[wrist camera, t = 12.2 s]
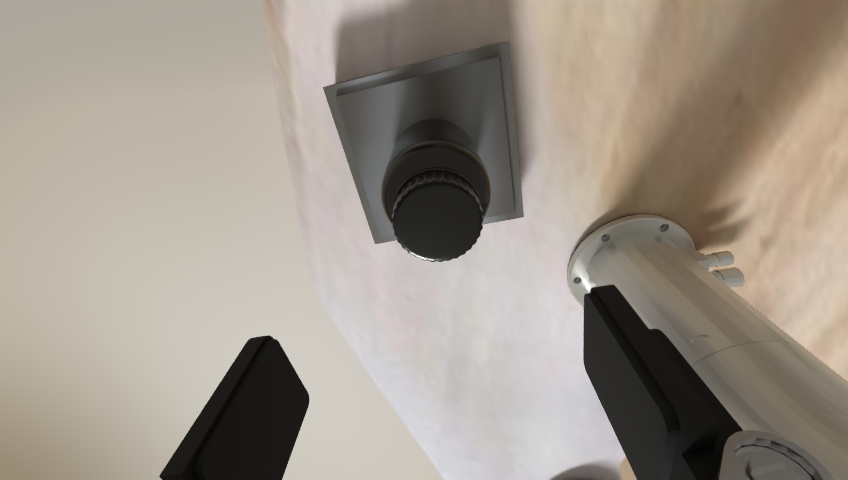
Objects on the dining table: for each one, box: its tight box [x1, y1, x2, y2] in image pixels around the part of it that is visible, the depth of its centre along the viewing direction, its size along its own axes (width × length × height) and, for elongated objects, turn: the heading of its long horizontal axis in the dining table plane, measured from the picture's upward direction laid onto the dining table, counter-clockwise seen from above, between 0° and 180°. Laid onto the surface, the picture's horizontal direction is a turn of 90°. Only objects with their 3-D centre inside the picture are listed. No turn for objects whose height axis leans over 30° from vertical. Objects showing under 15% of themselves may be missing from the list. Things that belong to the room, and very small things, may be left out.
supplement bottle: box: [381, 119, 492, 262], centre depth 23 cm, size 7×7×12 cm
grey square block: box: [323, 42, 524, 244], centre depth 30 cm, size 14×14×4 cm
